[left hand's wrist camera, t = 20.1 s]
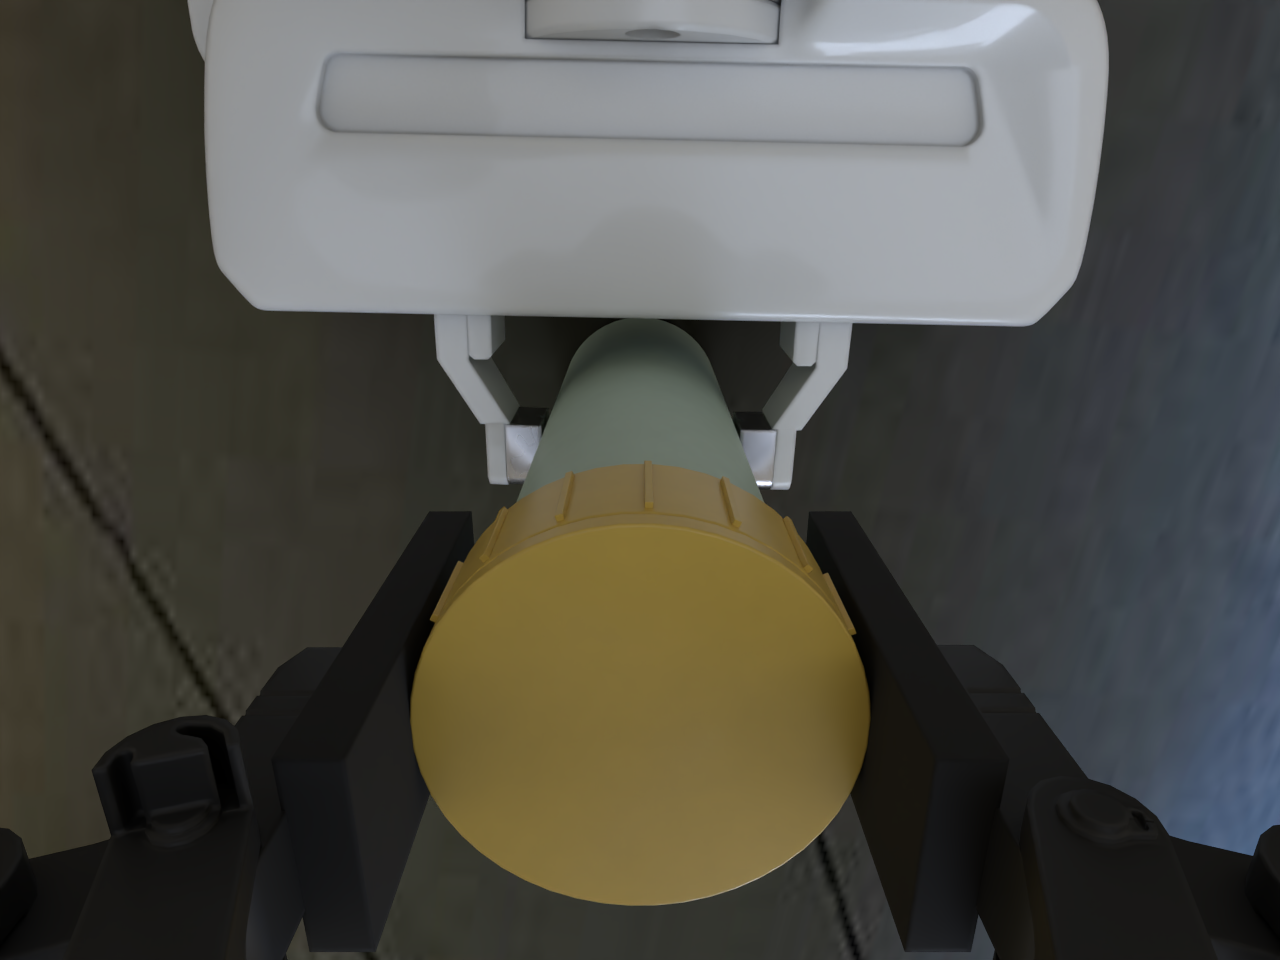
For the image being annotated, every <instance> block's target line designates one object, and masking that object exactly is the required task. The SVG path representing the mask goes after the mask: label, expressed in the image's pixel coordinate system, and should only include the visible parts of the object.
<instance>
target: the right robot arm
mask: <svg viewBox="0 0 1280 960" xmlns="http://www.w3.org/2000/svg"><path fill="white" fill-rule="evenodd" d="M187 1H188V7H189V14H190V20H191V27H192V32H193V36H194V39H195V42H196V45H197V47H198V50H199V52H200V54H201V56H202V58H203V60H204V61H205V78H204V135H205V161H206V180H207V194H208V206H209V216H210V227H211V236H212V243H213V249H214V254H215V258H216V261H217V264H218V266H219V268H220V270H221V271H222V273H223V274H224V275H225V276H226V277H227V278H228V279H229V281H230V282H231V283H232V284H233V285H234V286H235V287H236V289H237V290H238V291H239V292H240V293H241V294H242V295H243V296H244V297H245V298H246V299H247V300H248V301H249V302H250V303H251V305H253V306H254V307H256V308H258V309H261V310H269V311H309V312H357V313H404V314H434V323H435V338H436V352H437V360H438V362H439V363H440V365H441V366H442V368H443V369H444V370H445V372H446V373H447V375H448V376H449V378H450V379H451V381H452V382H453V384H454V385H455V387H456V388H457V390H458V391H459V393H460V394H461V396H462V397H463V399H464V400H465V402H466V403H467V405H468V406H469V408H470V409H471V411H472V412H473V414H474V415H475V417H476V418H477V420H478V421H479V422H480V424H485V429H486V448H487V467H488V478H489V481H490V484H504V485H508V484H524V481H525V479H526V476H527V474H528V471H529V468H530V466H531V463H532V461H533V458H534V456H535V453H536V450H537V448H538V445H539V443H540V440H541V437H542V435H543V432H544V430H545V427H546V425H547V422H548V419H549V408H535V407H519V406H520V405H519V403H518V402H517V400H516V398H515V396H514V395H513V393H512V391H511V390H510V388H509V386H508V385H507V383H506V381H505V380H504V378H503V376H502V374H501V373H500V371H499V369H498V368H497V366H496V364H495V363H494V361H493V359H492V358H491V356H492V354H493V353H494V352H495V351H496V350H497V349H498V348H499V347H500V345H501V344H502V343H503V342H504V341H505V316H547V317H594V318H642V319H689V320H737V321H781V327H780V342H779V346H780V347H781V348H782V349H783V350H784V352H785V353H786V354H787V355H788V356H789V358H790V359H791V360H792V361H793V363H792V365H791V366H790V368H789V369H788V371H787V372H786V374H785V375H784V377H783V378H782V380H781V382H780V383H779V385H778V386H777V388H776V389H775V391H774V392H773V394H772V395H771V397H770V398H769V400H768V401H767V403H766V404H765V406H764V408H763V409H762V411H763V412H733V423H734V426H735V429H736V431H737V434H738V436H739V439H740V441H741V444H742V447H743V449H744V452H745V454H746V457H747V460H748V462H749V465H750V467H751V470H752V473H753V475H754V478H755V480H756V483H757V486H758V488H759V489H774V490H788V489H789V488H790V485H791V481H792V472H793V461H794V451H795V440H796V430H802V429H803V427H804V426H805V425H806V423H807V422H808V420H809V419H810V418H811V416H812V415H813V414H814V412H815V411H816V410H817V408H818V407H819V406H820V404H821V403H822V402H823V400H824V399H825V398H826V396H827V395H828V394H829V392H830V391H831V389H832V388H833V387H834V385H835V384H836V383H837V381H838V380H839V379H840V377H841V376H842V375H843V373H844V372H845V371H846V369H847V365H848V357H849V348H850V340H851V332H852V323H879V324H926V325H974V326H1029V325H1032V324H1034V323H1036V322H1037V321H1038V320H1039V319H1041V318H1042V317H1043V316H1044V315H1045V314H1046V313H1047V312H1048V311H1049V310H1050V309H1051V308H1052V307H1053V306H1054V305H1055V304H1056V303H1057V302H1058V301H1059V300H1060V298H1061V297H1062V296H1063V295H1064V294H1065V293H1066V292H1067V291H1068V290H1069V289H1070V288H1071V286H1072V285H1073V283H1074V281H1075V280H1076V278H1077V275H1078V272H1079V269H1080V266H1081V263H1082V259H1083V255H1084V251H1085V246H1086V241H1087V237H1088V232H1089V227H1090V221H1091V216H1092V210H1093V205H1094V199H1095V193H1096V186H1097V180H1098V173H1099V166H1100V158H1101V150H1102V141H1103V133H1104V123H1105V113H1106V102H1107V90H1108V76H1109V50H1108V38H1107V31H1106V26H1105V22H1104V18H1103V14H1102V11H1101V9H1100V6H1099V4H1098V1H1097V0H187Z"/></svg>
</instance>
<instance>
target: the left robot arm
mask: <svg viewBox="0 0 1280 960" xmlns="http://www.w3.org/2000/svg"><path fill="white" fill-rule="evenodd" d="M806 545H807V547H808V548H809V550H810V552H811V553H812V555H813V557H814V559H815V560H816V562H817V564H818V566H819V567H820V570H821V572H822V574H825V573H828V574H829V576H830V578H831V580H832V582H833V584H834V587H835V589H836V591H837V593H838V595H839V597H840V599H841V601H842V603H843V605H844V607H845V609H846V612H847V614H848V616H849V618H850V620H851V622H852V624H853V626H854V628H855V631H856V634H854V635H851V636H852V638H853V641H854V643H855V645H856V648H857V651H858V653H859V656H860V658H861V661H862V663H863V666H864V669H865V674H866V679H867V683H868V688H869V693H870V712H871V719H870V728H869V736H868V745H867V749H866V753H865V757H864V760H863V764H862V768H861V770H860V773H859V775H858V777H857V780H856V782H855V784H854V786H853V789H852V791H851V796H852V799H853V802H854V805H855V808H856V811H857V814H858V817H859V820H860V823H861V825H862V828H863V831H864V834H865V837H866V840H867V843H868V846H869V849H870V852H871V855H872V857H873V860H874V863H875V866H876V869H877V872H878V875H879V878H880V881H881V884H882V887H883V889H884V892H885V895H886V898H887V901H888V904H889V907H890V910H891V913H892V916H893V919H894V921H895V924H896V927H897V930H898V933H899V936H900V939H901V942H902V945H903V948H904V951H905V952H971V948H972V944H973V939H974V934H975V929H976V924H977V919H978V914H979V916H980V918H981V920H982V922H983V925H984V927H985V929H986V931H987V933H988V935H989V938H990V940H991V942H992V944H993V946H994V948H995V952H994V956H993V960H1280V825H1274V826H1272V827H1271V828H1269V829H1268V830H1267V831H1265V832H1264V833H1263V834H1261V835H1260V838H1259V841H1258V844H1257V847H1256V849H1255V852H1254V855H1253V856H1250V855H1246V854H1242V853H1237V852H1233V851H1229V850H1224V849H1220V848H1216V847H1211V846H1207V845H1203V844H1198V843H1194V842H1189V841H1186V840H1182V839H1179V838H1176V837H1172V836H1169V834H1168V833H1167V831H1166V830H1165V828H1164V827H1163V825H1162V824H1161V822H1160V821H1159V819H1158V818H1157V816H1156V815H1154V814H1153V813H1152V812H1151V811H1150V810H1148V809H1147V808H1146V807H1145V806H1144V805H1142V804H1141V803H1140V802H1139V801H1138V800H1136V799H1135V798H1133V797H1131V796H1129V795H1127V794H1125V793H1124V792H1122V791H1120V790H1118V789H1116V788H1114V787H1112V786H1110V785H1107V784H1104V783H1100V782H1097V781H1094V780H1090V779H1088V778H1087V776H1086V775H1085V774H1084V772H1083V771H1082V770H1081V768H1080V767H1079V766H1078V764H1077V763H1076V762H1075V760H1074V759H1073V758H1072V756H1071V755H1070V754H1069V752H1068V751H1067V750H1066V748H1065V747H1064V746H1063V744H1062V743H1061V742H1060V740H1059V739H1058V738H1057V736H1056V735H1055V734H1054V732H1053V731H1052V730H1051V728H1050V727H1049V726H1048V724H1047V723H1046V722H1045V721H1044V719H1043V718H1042V717H1041V715H1040V714H1039V713H1036V712H1035V707H1034V706H1033V705H1032V703H1031V702H1030V701H1029V699H1028V698H1027V697H1026V695H1025V694H1024V693H1021V691H1020V690H1021V689H1020V687H1019V686H1018V685H1017V683H1016V682H1015V681H1014V679H1013V678H1012V677H1011V675H1010V674H1009V673H1008V671H1007V670H1006V669H1005V667H1004V666H1003V665H1002V664H1000V663H999V662H998V661H996V660H995V659H993V658H992V657H990V656H989V655H987V654H986V653H984V652H983V651H982V650H980V649H979V648H977V647H976V646H974V645H936V643H935V642H934V640H933V639H932V637H931V636H930V634H929V632H928V631H927V629H926V628H925V626H924V625H923V623H922V622H921V620H920V618H919V617H918V615H917V614H916V612H915V611H914V609H913V607H912V606H911V604H910V603H909V601H908V600H907V598H906V597H905V595H904V593H903V592H902V590H901V589H900V587H899V586H898V584H897V582H896V581H895V579H894V578H893V576H892V575H891V573H890V572H889V570H888V568H887V567H886V565H885V564H884V562H883V561H882V559H881V557H880V556H879V554H878V553H877V551H876V550H875V548H874V547H873V545H872V543H871V542H870V540H869V539H868V537H867V536H866V534H865V532H864V531H863V529H862V528H861V526H860V525H859V523H858V522H857V520H856V518H855V517H854V515H853V514H852V512H809V519H808V531H807V544H806ZM473 546H474V538H473V525H472V513H471V512H429V513H428V515H427V516H426V518H425V519H424V521H423V522H422V524H421V525H420V527H419V529H418V530H417V532H416V533H415V535H414V536H413V538H412V540H411V541H410V543H409V544H408V546H407V547H406V549H405V550H404V552H403V554H402V555H401V557H400V558H399V560H398V561H397V563H396V565H395V566H394V568H393V569H392V571H391V572H390V574H389V575H388V577H387V579H386V580H385V582H384V583H383V585H382V586H381V588H380V590H379V591H378V593H377V594H376V596H375V597H374V599H373V600H372V602H371V604H370V605H369V607H368V608H367V610H366V611H365V613H364V615H363V616H362V618H361V619H360V621H359V622H358V624H357V625H356V627H355V629H354V630H353V632H352V633H351V635H350V636H349V638H348V640H347V641H346V643H345V644H344V646H343V647H334V648H306V649H304V650H303V651H301V652H300V653H299V654H297V655H296V656H294V657H293V658H291V659H290V660H288V661H287V662H286V663H284V664H283V665H281V666H280V667H278V668H277V670H276V671H275V672H274V674H273V675H272V676H271V678H270V679H269V680H268V682H267V683H266V685H265V686H264V687H263V689H262V690H261V694H260V696H257V697H256V698H255V699H254V701H253V702H252V703H251V705H250V706H249V707H248V709H247V710H246V715H245V716H242V717H241V718H240V719H239V721H238V722H237V723H236V725H235V726H233V725H232V724H231V723H230V722H228V721H227V720H226V719H222V718H217V717H212V716H207V715H202V716H187V717H179V718H175V719H171V720H168V721H164V722H160V723H157V724H153V725H151V726H149V727H147V728H145V729H142V730H140V731H138V732H136V733H134V734H132V735H130V736H127V737H126V738H125V739H123V740H122V741H120V742H119V743H118V744H116V745H115V746H114V747H112V748H111V749H110V750H108V751H107V752H105V754H104V755H103V756H102V757H101V759H100V760H99V761H98V763H97V764H96V765H95V767H94V768H93V769H92V773H93V776H94V780H95V783H96V786H97V790H98V793H99V796H100V800H101V803H102V806H103V810H104V813H105V816H106V820H107V823H108V826H109V830H110V833H111V838H110V839H109V840H106V841H103V842H99V843H96V844H92V845H88V846H84V847H79V848H75V849H71V850H66V851H62V852H58V853H53V854H49V855H44V856H40V857H36V858H31V859H28V856H27V853H26V850H25V847H24V845H23V842H22V839H21V838H20V837H19V836H18V835H16V834H15V833H14V832H12V831H11V830H10V829H6V828H0V960H287V956H286V951H287V949H288V947H289V945H290V943H291V941H292V938H293V936H294V934H295V932H296V930H297V927H298V925H299V923H300V921H301V919H302V917H303V921H304V926H305V931H306V936H307V941H308V946H309V951H310V952H376V949H377V946H378V943H379V940H380V937H381V935H382V932H383V929H384V926H385V923H386V920H387V917H388V914H389V911H390V908H391V905H392V903H393V900H394V897H395V894H396V891H397V888H398V885H399V882H400V879H401V876H402V873H403V871H404V868H405V865H406V862H407V859H408V856H409V853H410V850H411V847H412V844H413V841H414V839H415V836H416V833H417V830H418V827H419V824H420V821H421V818H422V815H423V812H424V809H425V806H426V804H427V801H428V798H429V795H430V792H429V789H428V787H427V785H426V783H425V781H424V779H423V777H422V775H421V772H420V769H419V766H418V762H417V759H416V756H415V752H414V748H413V740H412V732H411V724H410V696H411V691H412V685H413V680H414V674H415V671H416V668H417V665H418V662H419V659H420V656H421V653H422V651H423V648H424V646H425V643H426V641H427V639H428V637H429V635H430V633H431V631H432V628H433V626H434V624H435V622H433V621H431V620H430V618H431V616H432V614H433V612H434V610H435V608H436V606H437V604H438V601H439V599H440V597H441V595H442V593H443V591H444V589H445V587H446V585H447V583H448V581H449V579H450V577H451V574H452V572H453V570H454V568H455V566H456V564H457V562H458V561H460V562H463V563H464V561H465V559H466V558H467V556H468V554H469V552H470V550H471V549H472V548H473Z"/></svg>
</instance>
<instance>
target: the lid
mask: <svg viewBox="0 0 1280 960" xmlns="http://www.w3.org/2000/svg"><path fill="white" fill-rule="evenodd" d="M430 620H431V621H433V622H435V624H434V626H433V628H432V631H431V633H430V635H429V637H428V639H427V641H426V643H425V646H424V648H423V651H422V653H421V656H420V659H419V662H418V665H417V668H416V671H415V674H414V680H413V685H412V691H411V696H410V724H411V732H412V740H413V748H414V752H415V756H416V759H417V762H418V766H419V769H420V772H421V775H422V777H423V779H424V781H425V783H426V785H427V787H428V789H429V792H430V794H431V796H432V797H433V799H434V800H435V802H436V803H437V805H438V806H439V808H440V809H441V811H442V812H443V814H444V815H445V817H446V818H447V819H448V820H449V821H450V823H451V824H452V825H453V826H454V827H455V828H456V830H457V831H458V832H459V833H460V834H461V835H462V836H463V837H464V838H465V839H466V840H467V841H468V842H469V843H471V844H472V845H473V846H474V847H475V848H476V849H477V850H478V851H480V852H481V853H482V854H483V855H485V856H486V857H488V858H489V859H491V860H492V861H493V862H495V863H496V864H498V865H499V866H501V867H502V868H504V869H506V870H507V871H509V872H511V873H513V874H515V875H517V876H518V877H520V878H522V879H524V880H526V881H528V882H531V883H533V884H536V885H538V886H540V887H543V888H545V889H548V890H550V891H554V892H557V893H560V894H564V895H567V896H570V897H574V898H578V899H583V900H589V901H594V902H599V903H607V904H618V905H663V904H672V903H682V902H687V901H692V900H697V899H702V898H706V897H711V896H714V895H717V894H720V893H723V892H726V891H730V890H733V889H736V888H738V887H740V886H743V885H745V884H747V883H750V882H752V881H754V880H756V879H759V878H761V877H762V876H764V875H766V874H768V873H769V872H771V871H773V870H775V869H776V868H778V867H780V866H782V865H783V864H785V863H786V862H787V861H789V860H790V859H791V858H793V857H794V856H795V855H797V854H798V853H799V852H801V851H802V850H804V849H805V848H806V847H807V846H808V845H809V844H810V843H811V842H812V841H813V840H814V839H815V838H816V837H817V836H818V835H819V834H821V833H822V832H823V830H824V829H825V828H826V827H827V826H828V824H829V823H830V822H831V821H832V819H833V818H834V817H835V816H836V815H837V813H838V812H839V810H840V809H841V807H842V806H843V804H844V802H845V801H846V799H847V797H848V796H849V794H850V793H851V791H852V789H853V786H854V784H855V782H856V780H857V777H858V775H859V773H860V770H861V768H862V764H863V760H864V757H865V753H866V749H867V745H868V736H869V728H870V719H871V712H870V693H869V688H868V683H867V679H866V674H865V669H864V666H863V663H862V661H861V658H860V656H859V653H858V651H857V648H856V645H855V643H854V641H853V638H852V636H851V635H854V634H856V631H855V628H854V626H853V624H852V622H851V620H850V618H849V616H848V614H847V612H846V609H845V607H844V605H843V603H842V601H841V599H840V597H839V595H838V593H837V591H836V589H835V587H834V584H833V582H832V580H831V578H830V576H829V574H828V573H825V574H822V572H821V570H820V567H819V566H818V564H817V562H816V560H815V559H814V557H813V555H812V553H811V552H810V550H809V548H808V547H807V545H806V544H805V543H804V541H803V540H802V539H801V538H800V536H799V535H798V534H797V531H796V529H795V527H794V525H793V522H792V520H791V519H790V518H789V517H788V516H786V517H785V518H784V519H783V518H782V517H781V516H780V515H779V514H778V513H777V512H776V511H775V510H773V509H772V508H771V507H769V506H768V505H766V504H765V503H764V502H762V501H761V500H759V499H758V498H757V497H755V496H754V495H752V494H750V493H748V492H747V491H745V490H743V489H741V488H739V487H737V486H735V485H733V484H732V483H730V480H729V478H727V477H724V476H722V478H721V479H719V478H716V477H714V476H711V475H708V474H706V473H702V472H698V471H693V470H689V469H685V468H681V467H675V466H666V465H657V464H652V461H644V464H622V465H614V466H607V467H600V468H594V469H591V470H587V471H583V472H579V473H576V474H573V471H570V472H567V473H565V477H564V478H561V479H559V480H556V481H554V482H552V483H549V484H547V485H544V486H543V487H541V488H539V489H537V490H536V491H534V492H532V493H530V494H529V495H527V496H525V497H523V498H522V499H521V500H519V501H518V502H517V503H515V504H514V505H513V506H511V507H510V508H509V509H506V508H505V507H503V508H502V509H500V510H499V512H498V515H497V517H496V519H495V521H494V522H493V523H492V524H491V525H490V526H489V527H488V528H487V529H486V530H485V531H484V533H483V534H482V535H481V537H480V538H479V539H478V541H477V542H476V543H475V545H474V546H473V548H472V549H471V550H470V552H469V554H468V556H467V558H466V559H465V561H464V563H463V562H460V561H458V562H457V564H456V566H455V568H454V570H453V572H452V574H451V577H450V579H449V581H448V583H447V585H446V587H445V589H444V591H443V593H442V595H441V597H440V599H439V601H438V604H437V606H436V608H435V610H434V612H433V614H432V616H431V618H430Z"/></svg>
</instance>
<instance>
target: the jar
mask: <svg viewBox="0 0 1280 960" xmlns="http://www.w3.org/2000/svg"><path fill="white" fill-rule="evenodd" d="M644 461H652V464H657V465H666V466H675V467H681V468H685V469H689V470H693V471H698V472H702V473H706V474H708V475H711V476H714V477H716V478H719V479H721V478H722V476H724V477H727V478H729V480H730V483H732V484H733V485H735V486H737V487H739V488H741V489H743V490H745V491H747V492H748V493H750V494H752V495H754V496H755V497H757V498H758V499H759V500H761V501H762V502H764V501H763V498H762V496H761V493H760V491H759V488H758V486H757V483H756V480H755V478H754V475H753V473H752V470H751V467H750V465H749V462H748V460H747V457H746V454H745V452H744V449H743V447H742V444H741V441H740V439H739V436H738V434H737V431H736V429H735V426H734V423H733V421H732V418H731V416H730V413H729V410H728V408H727V405H726V403H725V400H724V397H723V395H722V392H721V390H720V387H719V384H718V382H717V379H716V377H715V374H714V372H713V369H712V366H711V364H710V361H709V359H708V357H707V356H706V354H705V352H704V351H703V349H702V348H701V347H700V345H699V344H698V343H697V342H696V341H695V340H694V339H693V338H692V337H691V336H690V335H689V334H687V333H686V332H685V331H684V330H682V329H680V328H679V327H677V326H675V325H673V324H670V323H668V322H666V321H662V320H658V319H642V318H627V319H622V320H618V321H615V322H612V323H610V324H608V325H605V326H604V327H602V328H600V329H599V330H597V331H596V332H594V333H593V334H592V335H590V336H589V337H588V338H587V339H586V340H585V341H584V342H583V343H582V345H581V346H580V347H579V349H578V350H577V351H576V353H575V355H574V356H573V358H572V360H571V363H570V365H569V368H568V370H567V373H566V375H565V378H564V381H563V383H562V386H561V388H560V391H559V394H558V396H557V399H556V401H555V404H554V406H553V409H552V412H551V414H550V417H549V419H548V422H547V425H546V427H545V430H544V432H543V435H542V437H541V440H540V443H539V445H538V448H537V450H536V453H535V456H534V458H533V461H532V463H531V466H530V468H529V471H528V474H527V476H526V479H525V481H524V484H523V487H522V489H521V492H520V494H519V497H518V499H517V502H518V501H519V500H521V499H522V498H523V497H525V496H527V495H529V494H530V493H532V492H534V491H536V490H537V489H539V488H541V487H543V486H544V485H547V484H549V483H552V482H554V481H556V480H559V479H561V478H564V477H565V473H567V472H570V471H573V474H576V473H579V472H583V471H587V470H591V469H594V468H600V467H607V466H614V465H622V464H644ZM517 502H516V503H517Z"/></svg>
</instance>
